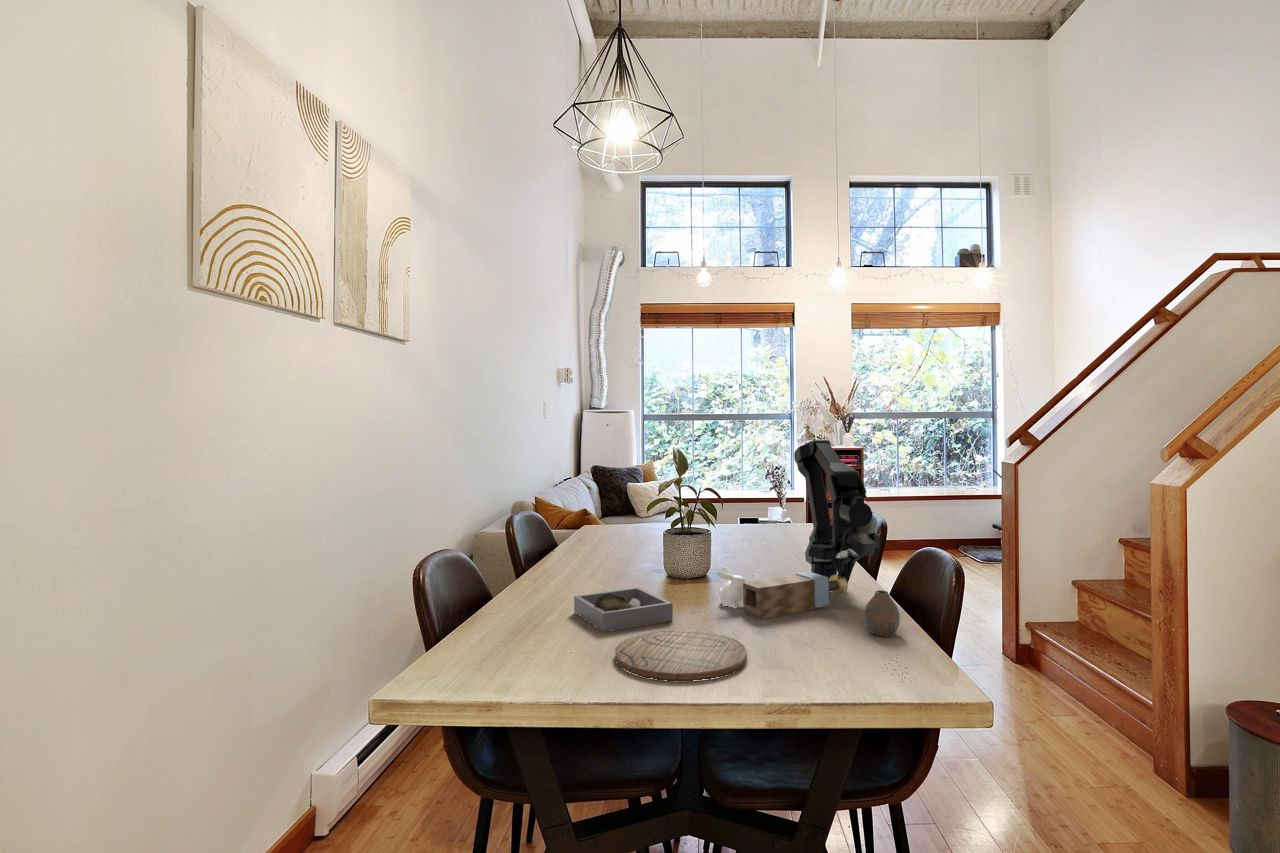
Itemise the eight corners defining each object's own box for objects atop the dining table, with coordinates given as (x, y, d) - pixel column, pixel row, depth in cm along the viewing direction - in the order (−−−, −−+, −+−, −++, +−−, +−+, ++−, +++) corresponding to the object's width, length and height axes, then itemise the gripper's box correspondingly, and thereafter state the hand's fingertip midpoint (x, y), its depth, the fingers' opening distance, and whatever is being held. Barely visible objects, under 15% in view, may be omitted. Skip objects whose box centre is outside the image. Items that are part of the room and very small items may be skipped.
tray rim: (574, 613, 164) (574, 596, 164) (638, 603, 171) (638, 587, 171) (603, 632, 148) (603, 613, 148) (672, 620, 156) (672, 603, 156)
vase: (894, 628, 148) (894, 587, 148) (904, 639, 141) (903, 596, 141) (861, 628, 149) (861, 587, 149) (869, 638, 142) (868, 595, 142)
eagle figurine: (615, 609, 163) (587, 609, 156) (630, 585, 161) (603, 585, 154) (633, 632, 158) (605, 634, 151) (649, 608, 156) (621, 609, 149)
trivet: (730, 691, 116) (730, 680, 116) (593, 674, 125) (593, 664, 125) (758, 645, 140) (758, 636, 140) (641, 633, 148) (641, 625, 148)
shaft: (782, 607, 160) (781, 586, 160) (768, 602, 164) (768, 581, 164) (847, 596, 169) (847, 576, 169) (833, 592, 173) (833, 572, 173)
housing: (759, 619, 156) (758, 588, 156) (743, 612, 162) (743, 582, 162) (814, 609, 164) (814, 579, 164) (797, 603, 169) (797, 574, 169)
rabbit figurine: (754, 611, 163) (753, 570, 163) (723, 613, 161) (722, 572, 161) (737, 599, 175) (736, 560, 175) (708, 601, 173) (707, 562, 173)
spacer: (808, 597, 171) (808, 571, 171) (828, 604, 165) (828, 577, 165) (796, 599, 169) (795, 573, 169) (815, 606, 163) (815, 579, 163)
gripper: (839, 528, 160) (840, 595, 160) (897, 521, 169) (897, 585, 169) (806, 522, 170) (807, 585, 170) (862, 516, 179) (863, 576, 179)
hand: (845, 583), depth 172 cm, fingers closed
